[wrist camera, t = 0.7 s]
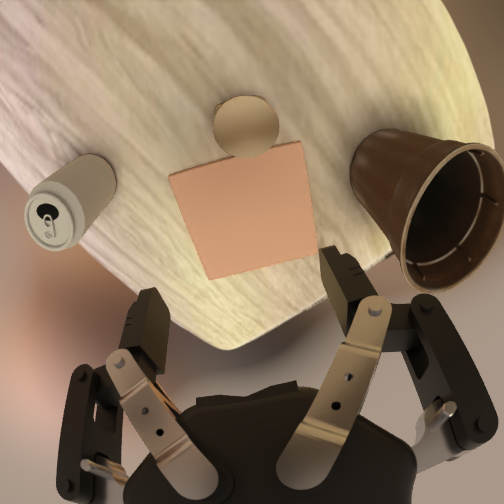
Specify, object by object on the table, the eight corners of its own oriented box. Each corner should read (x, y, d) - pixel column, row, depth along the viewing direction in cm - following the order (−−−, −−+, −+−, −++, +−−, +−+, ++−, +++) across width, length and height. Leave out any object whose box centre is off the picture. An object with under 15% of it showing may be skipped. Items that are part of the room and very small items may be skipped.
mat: (169, 175, 32) (167, 177, 31) (299, 141, 31) (301, 142, 30) (209, 277, 40) (209, 280, 40) (316, 250, 40) (318, 253, 39)
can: (117, 151, 29) (71, 186, 19) (119, 207, 33) (84, 260, 23) (66, 153, 28) (12, 189, 18) (72, 206, 32) (28, 255, 22)
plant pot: (403, 90, 27) (497, 113, 14) (443, 180, 35) (514, 232, 22) (311, 159, 32) (373, 219, 19) (369, 241, 40) (423, 316, 26)
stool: (209, 102, 27) (205, 105, 22) (261, 89, 27) (271, 89, 22) (222, 150, 31) (222, 165, 25) (273, 138, 30) (284, 150, 25)
